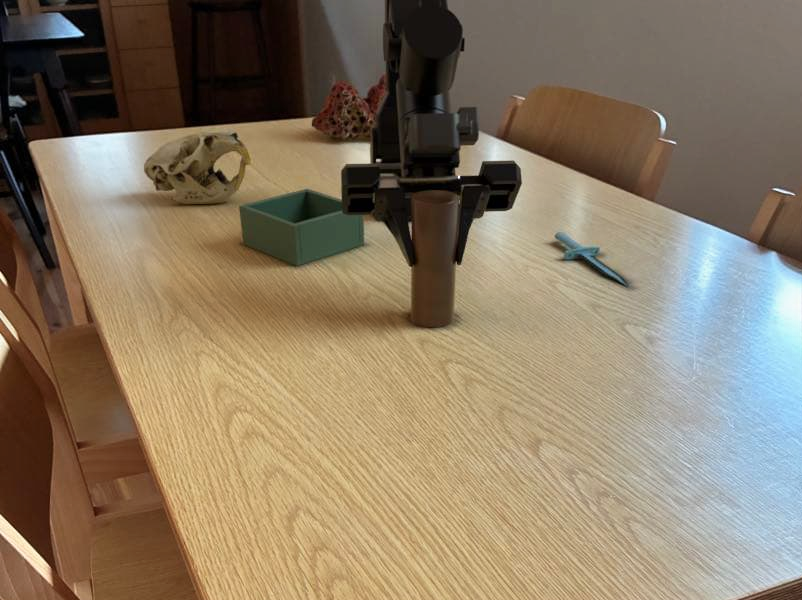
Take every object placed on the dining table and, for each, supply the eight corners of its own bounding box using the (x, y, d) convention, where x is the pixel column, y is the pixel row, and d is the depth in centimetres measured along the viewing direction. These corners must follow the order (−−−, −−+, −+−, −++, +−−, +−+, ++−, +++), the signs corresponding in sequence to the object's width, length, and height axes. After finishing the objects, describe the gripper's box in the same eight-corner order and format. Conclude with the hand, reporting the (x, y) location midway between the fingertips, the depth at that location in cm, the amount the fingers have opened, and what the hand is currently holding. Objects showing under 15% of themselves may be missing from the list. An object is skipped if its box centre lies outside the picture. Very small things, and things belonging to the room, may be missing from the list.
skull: (248, 200, 118) (222, 126, 112) (156, 225, 123) (127, 155, 117) (271, 185, 125) (247, 115, 120) (183, 209, 130) (157, 143, 125)
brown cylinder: (437, 306, 92) (441, 187, 84) (462, 321, 89) (468, 198, 81) (402, 315, 90) (402, 194, 82) (426, 331, 87) (429, 206, 79)
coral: (423, 88, 159) (414, 75, 145) (406, 160, 164) (396, 153, 150) (334, 63, 159) (317, 47, 146) (320, 136, 164) (302, 127, 151)
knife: (647, 279, 98) (612, 285, 96) (645, 289, 98) (610, 294, 97) (574, 229, 109) (542, 233, 108) (573, 237, 110) (541, 242, 109)
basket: (309, 225, 115) (307, 188, 112) (364, 244, 109) (363, 206, 106) (243, 244, 109) (238, 205, 106) (296, 266, 102) (293, 226, 99)
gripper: (336, 75, 78) (346, 229, 76) (527, 72, 79) (540, 223, 77) (338, 144, 89) (346, 280, 87) (505, 141, 90) (516, 274, 88)
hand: (435, 264), depth 85 cm, fingers closed on brown cylinder, 5 cm apart
